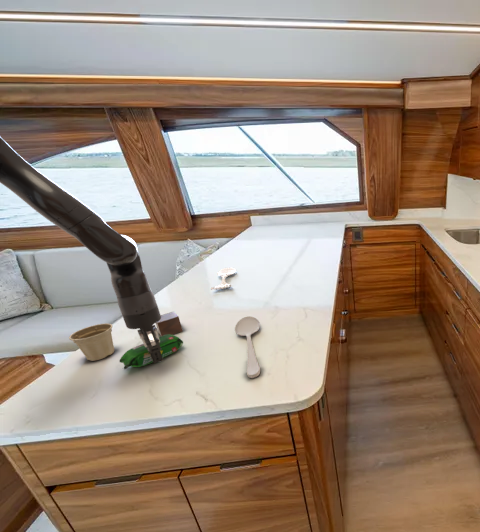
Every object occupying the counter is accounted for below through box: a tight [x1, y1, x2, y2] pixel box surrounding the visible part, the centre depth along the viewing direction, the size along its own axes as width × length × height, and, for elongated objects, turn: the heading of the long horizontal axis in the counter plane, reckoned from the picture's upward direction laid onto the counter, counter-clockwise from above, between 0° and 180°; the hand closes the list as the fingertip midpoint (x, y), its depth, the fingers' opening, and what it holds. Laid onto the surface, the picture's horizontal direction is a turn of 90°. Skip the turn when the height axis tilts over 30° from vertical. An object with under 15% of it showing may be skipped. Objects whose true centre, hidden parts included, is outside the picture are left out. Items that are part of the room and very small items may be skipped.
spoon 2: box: [210, 267, 237, 291], centre depth 150 cm, size 9×32×4 cm, turn 25°
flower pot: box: [68, 323, 115, 362], centre depth 91 cm, size 9×9×9 cm
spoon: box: [234, 316, 261, 379], centre depth 95 cm, size 35×8×3 cm, turn 29°
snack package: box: [119, 334, 184, 370], centre depth 90 cm, size 7×16×5 cm, turn 149°
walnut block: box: [155, 311, 183, 337], centre depth 104 cm, size 6×6×6 cm
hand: (158, 361), depth 87 cm, fingers closed
